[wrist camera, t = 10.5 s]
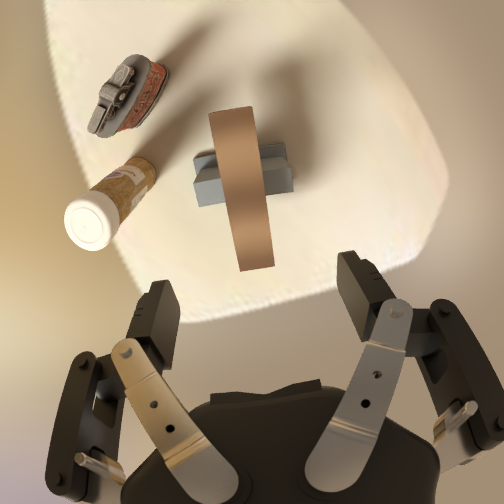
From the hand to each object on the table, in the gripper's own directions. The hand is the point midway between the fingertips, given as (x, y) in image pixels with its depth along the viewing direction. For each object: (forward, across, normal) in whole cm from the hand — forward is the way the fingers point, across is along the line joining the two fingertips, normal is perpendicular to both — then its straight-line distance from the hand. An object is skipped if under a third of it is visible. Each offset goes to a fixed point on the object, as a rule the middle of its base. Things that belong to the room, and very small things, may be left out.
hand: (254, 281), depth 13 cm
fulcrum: (+20, 0, 0) cm, 20 cm away
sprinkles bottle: (+20, +12, -2) cm, 24 cm away
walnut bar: (+14, 0, 0) cm, 14 cm away
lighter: (+20, +9, -11) cm, 25 cm away
